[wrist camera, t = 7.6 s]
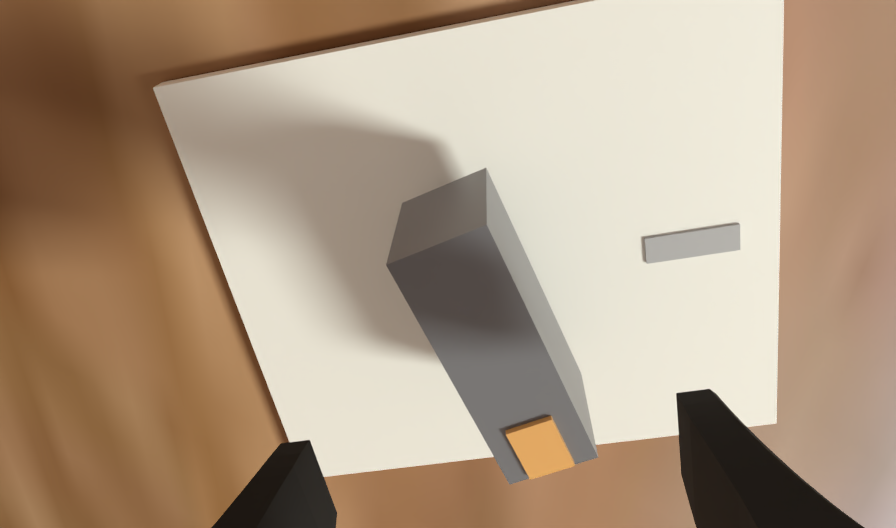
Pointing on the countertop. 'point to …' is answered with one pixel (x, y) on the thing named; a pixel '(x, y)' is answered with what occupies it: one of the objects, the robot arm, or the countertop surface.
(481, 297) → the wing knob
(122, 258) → the countertop surface
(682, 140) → the board
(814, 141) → the countertop surface
